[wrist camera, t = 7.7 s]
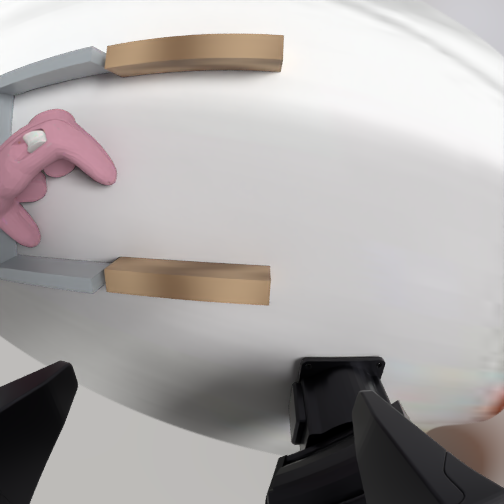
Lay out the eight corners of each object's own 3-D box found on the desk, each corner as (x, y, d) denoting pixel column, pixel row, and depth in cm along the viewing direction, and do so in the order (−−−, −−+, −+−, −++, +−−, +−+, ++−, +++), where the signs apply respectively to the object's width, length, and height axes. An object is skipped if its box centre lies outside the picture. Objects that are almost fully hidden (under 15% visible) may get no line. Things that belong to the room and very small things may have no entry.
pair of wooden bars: (281, 50, 16) (283, 35, 14) (268, 287, 20) (268, 305, 18) (124, 56, 16) (107, 46, 14) (122, 277, 21) (106, 291, 18)
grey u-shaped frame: (114, 58, 16) (92, 46, 13) (112, 276, 21) (93, 293, 18) (7, 86, 16) (-17, 82, 14) (12, 265, 21) (-10, 277, 18)
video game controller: (113, 131, 19) (44, 83, 12) (127, 182, 18) (45, 139, 11) (29, 204, 21) (-37, 182, 14) (36, 253, 20) (-38, 240, 13)
